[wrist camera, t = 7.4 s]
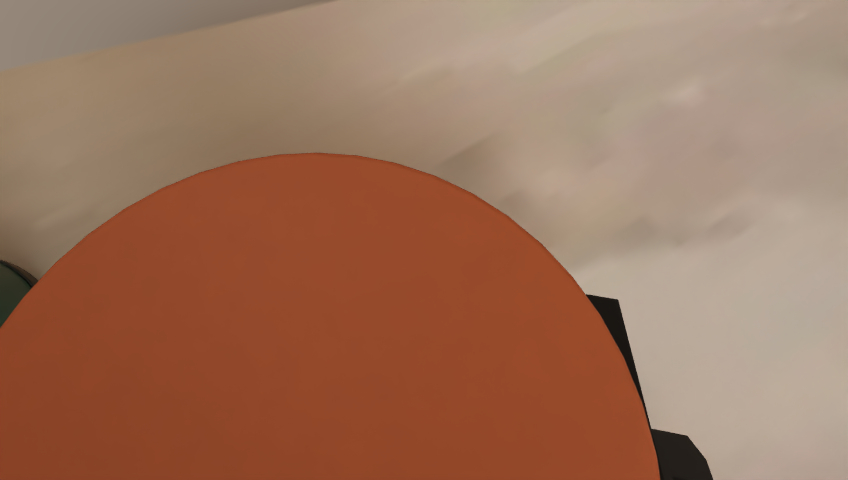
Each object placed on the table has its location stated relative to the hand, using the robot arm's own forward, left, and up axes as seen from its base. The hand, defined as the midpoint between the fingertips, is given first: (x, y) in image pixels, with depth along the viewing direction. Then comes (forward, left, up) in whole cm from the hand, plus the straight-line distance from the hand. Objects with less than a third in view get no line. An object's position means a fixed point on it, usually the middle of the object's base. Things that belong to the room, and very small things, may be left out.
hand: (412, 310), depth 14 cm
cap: (-1, +3, -4) cm, 5 cm away
